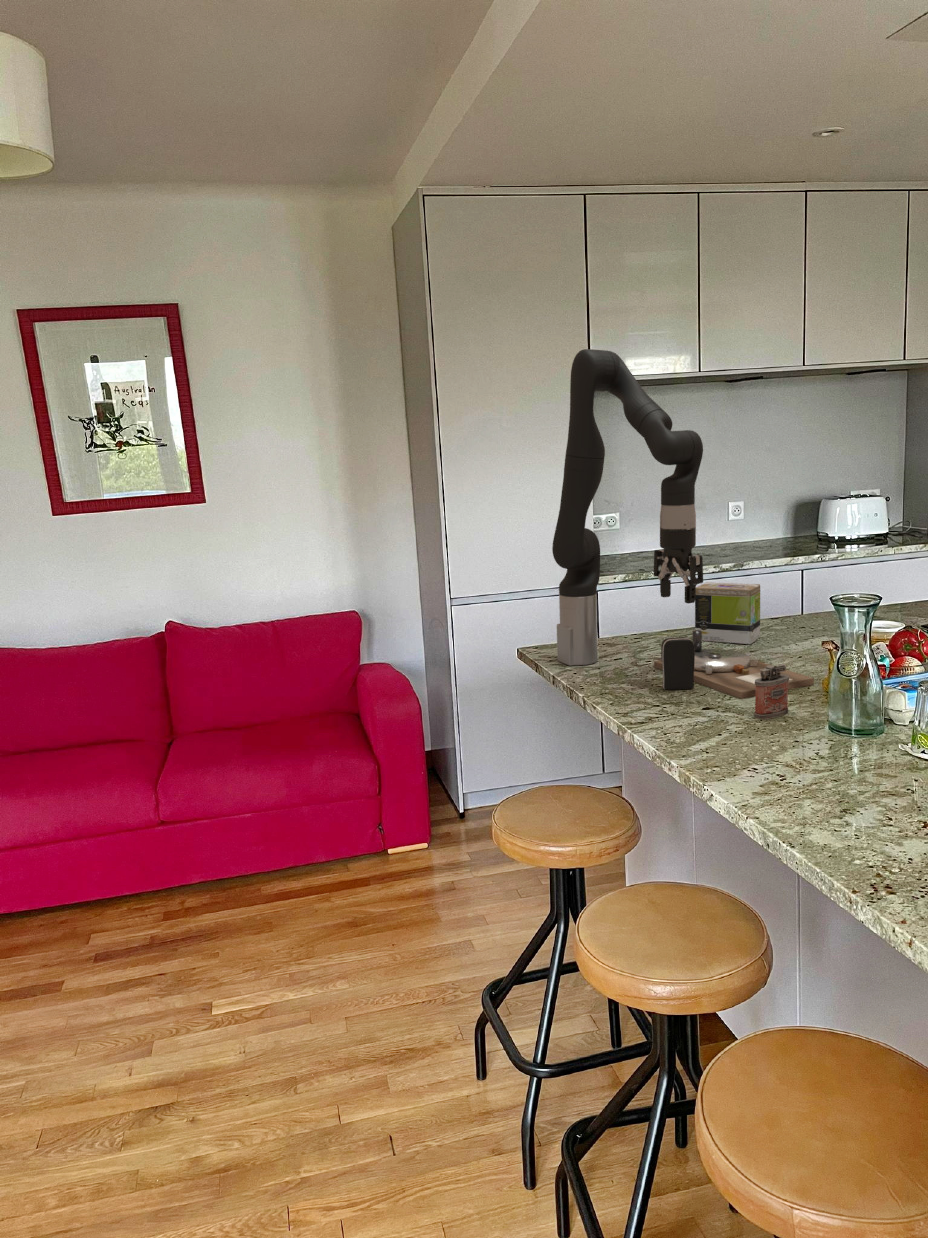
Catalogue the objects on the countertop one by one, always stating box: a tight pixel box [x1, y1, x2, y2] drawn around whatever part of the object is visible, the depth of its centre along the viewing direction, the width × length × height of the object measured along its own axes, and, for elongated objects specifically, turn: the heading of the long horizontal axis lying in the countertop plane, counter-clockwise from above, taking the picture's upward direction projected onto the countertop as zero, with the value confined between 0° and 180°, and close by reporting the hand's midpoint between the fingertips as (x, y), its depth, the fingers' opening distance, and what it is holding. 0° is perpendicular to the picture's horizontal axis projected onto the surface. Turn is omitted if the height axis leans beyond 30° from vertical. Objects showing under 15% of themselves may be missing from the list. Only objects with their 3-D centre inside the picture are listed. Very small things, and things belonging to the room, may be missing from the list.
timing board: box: [653, 659, 815, 700], centre depth 209 cm, size 20×31×2 cm, turn 24°
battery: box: [660, 636, 695, 691], centre depth 200 cm, size 7×4×11 cm, turn 92°
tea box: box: [694, 581, 761, 645], centre depth 242 cm, size 15×10×15 cm, turn 58°
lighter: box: [753, 663, 789, 720], centre depth 179 cm, size 8×3×10 cm, turn 118°
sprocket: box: [691, 629, 759, 674], centre depth 213 cm, size 19×19×6 cm
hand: (677, 599), depth 197 cm, fingers open, 8 cm apart
